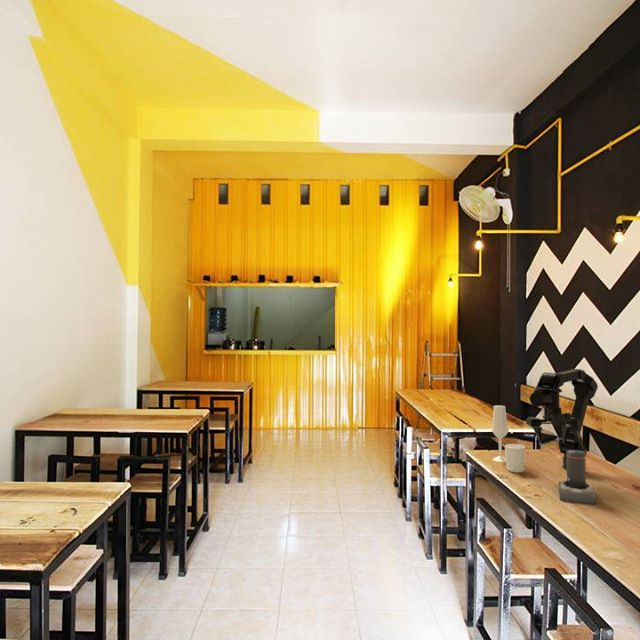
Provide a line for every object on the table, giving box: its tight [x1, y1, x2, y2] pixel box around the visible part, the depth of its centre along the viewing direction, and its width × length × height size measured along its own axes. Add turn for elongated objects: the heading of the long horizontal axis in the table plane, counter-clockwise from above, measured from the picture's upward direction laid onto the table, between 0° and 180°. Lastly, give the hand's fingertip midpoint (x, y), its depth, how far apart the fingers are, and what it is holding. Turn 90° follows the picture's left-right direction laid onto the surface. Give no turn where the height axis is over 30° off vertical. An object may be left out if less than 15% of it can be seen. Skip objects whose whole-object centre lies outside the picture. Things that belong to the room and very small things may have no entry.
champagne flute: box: [491, 404, 509, 463], centre depth 221 cm, size 7×7×24 cm
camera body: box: [558, 479, 597, 505], centre depth 175 cm, size 13×11×4 cm
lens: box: [566, 450, 587, 489], centre depth 175 cm, size 6×6×13 cm
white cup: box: [504, 443, 526, 473], centre depth 206 cm, size 8×8×10 cm
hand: (552, 443), depth 198 cm, fingers open, 9 cm apart
